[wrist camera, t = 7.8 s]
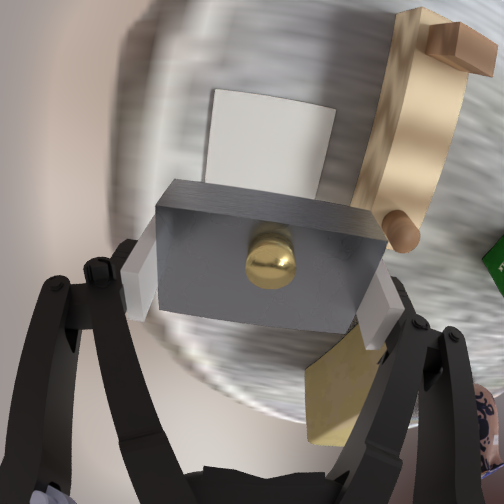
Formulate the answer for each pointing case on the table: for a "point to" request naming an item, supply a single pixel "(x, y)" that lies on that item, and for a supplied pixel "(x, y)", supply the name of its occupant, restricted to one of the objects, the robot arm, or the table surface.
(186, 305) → the lever cap
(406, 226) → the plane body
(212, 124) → the mat
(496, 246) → the milk carton
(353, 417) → the cheese
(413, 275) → the table surface
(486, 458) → the ceramic pitcher
